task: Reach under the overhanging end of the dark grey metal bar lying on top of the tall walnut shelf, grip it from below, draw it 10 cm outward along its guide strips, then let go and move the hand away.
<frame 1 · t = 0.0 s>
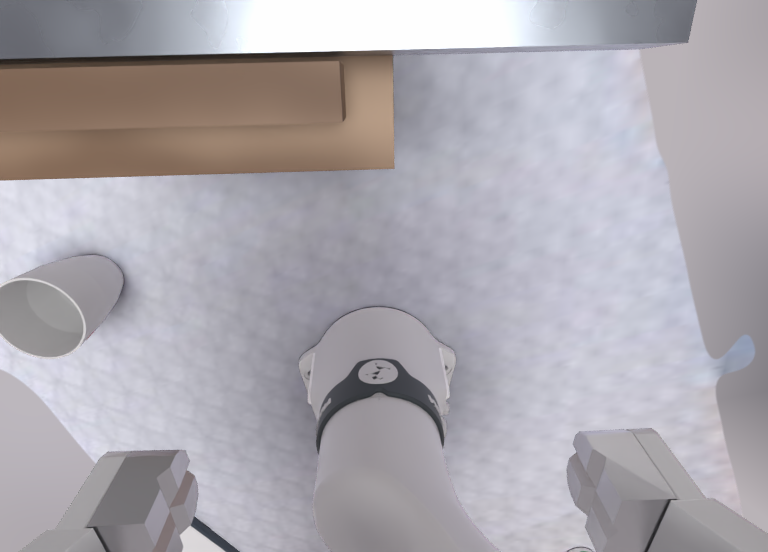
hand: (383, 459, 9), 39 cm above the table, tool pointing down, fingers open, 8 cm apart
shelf: (280, 57, 41), on the table
phone case: (194, 541, 66), on the table
cup: (100, 275, 49), on the table
bar: (310, 7, 16), point 28 cm above the table, slide at 0.0 cm
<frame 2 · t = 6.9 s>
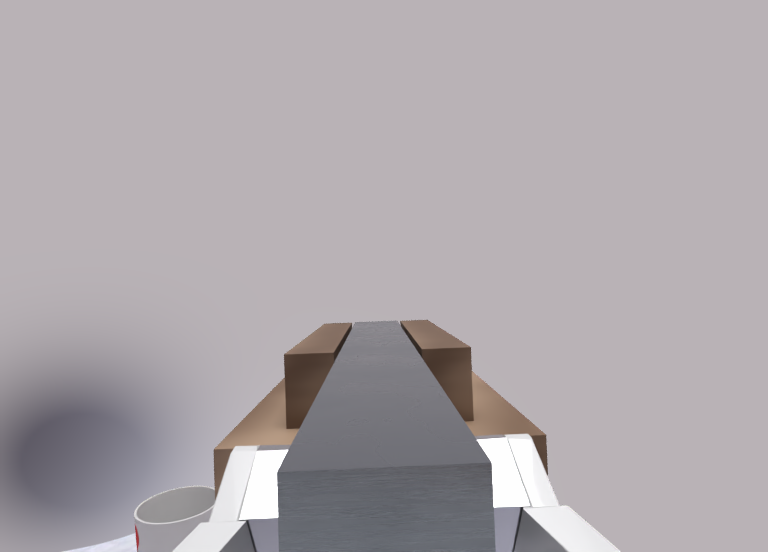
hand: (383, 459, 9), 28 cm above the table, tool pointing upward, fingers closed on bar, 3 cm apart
bar: (378, 380, 19), point 28 cm above the table, slide at 0.0 cm, touching gripper
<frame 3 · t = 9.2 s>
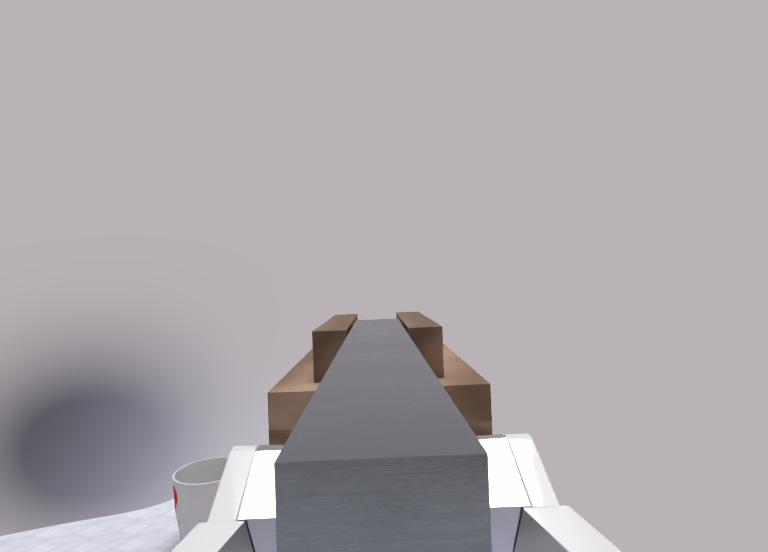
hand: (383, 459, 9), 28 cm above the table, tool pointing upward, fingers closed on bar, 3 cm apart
bar: (379, 377, 19), point 28 cm above the table, slide at 8.0 cm, touching gripper
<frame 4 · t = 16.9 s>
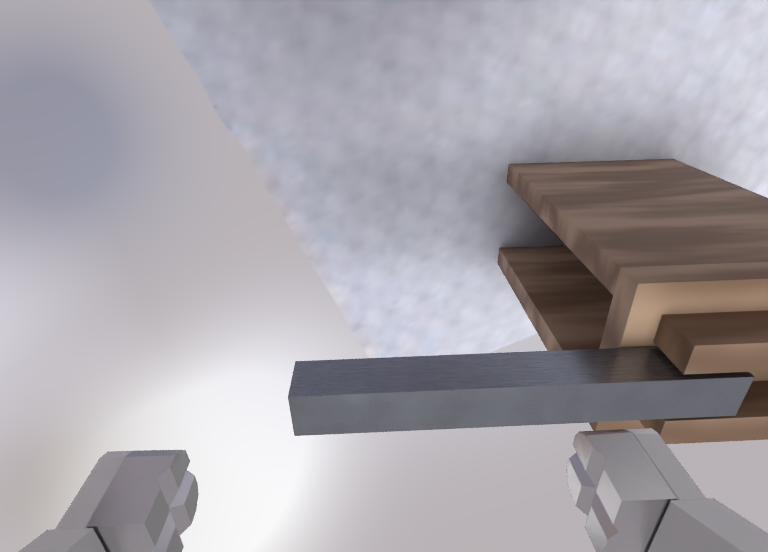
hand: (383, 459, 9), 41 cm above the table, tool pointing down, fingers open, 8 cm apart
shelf: (580, 213, 51), on the table
bar: (513, 388, 27), point 28 cm above the table, slide at 9.9 cm
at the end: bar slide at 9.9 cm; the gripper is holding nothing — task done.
